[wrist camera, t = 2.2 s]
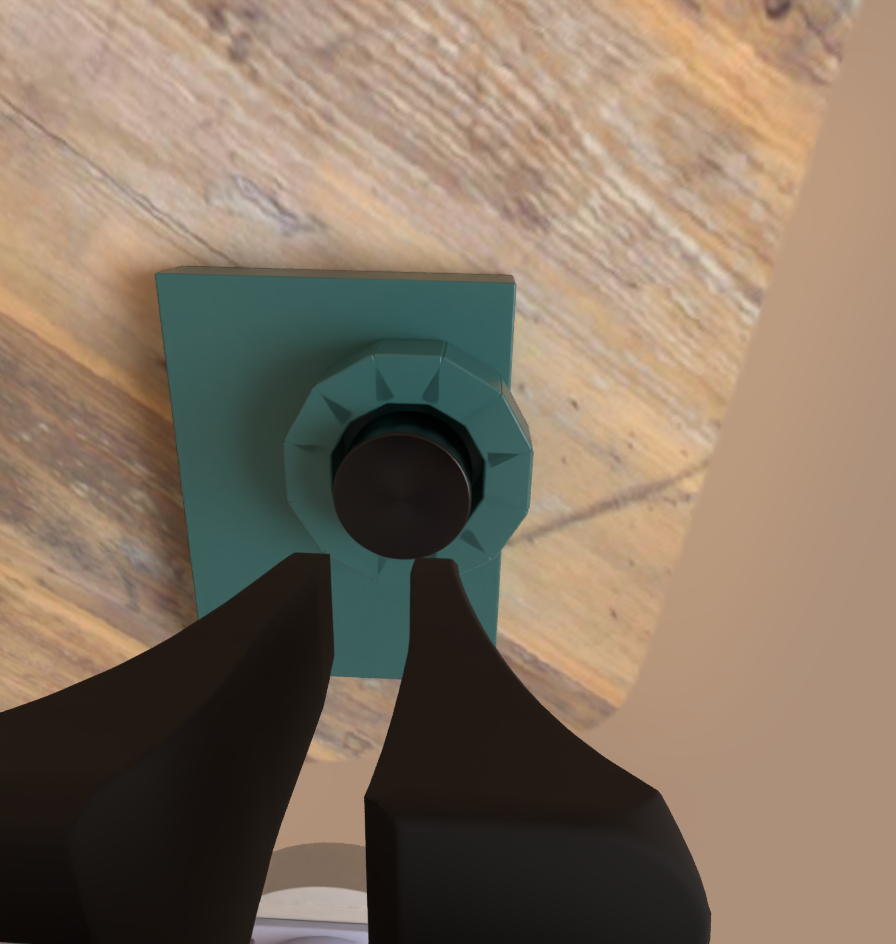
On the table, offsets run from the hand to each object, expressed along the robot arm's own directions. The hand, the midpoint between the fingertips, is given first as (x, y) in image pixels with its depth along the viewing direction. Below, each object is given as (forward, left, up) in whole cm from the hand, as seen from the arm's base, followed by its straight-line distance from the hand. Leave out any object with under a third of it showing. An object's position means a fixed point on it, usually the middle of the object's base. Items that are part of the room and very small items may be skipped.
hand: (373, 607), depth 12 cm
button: (0, 0, -6) cm, 6 cm away
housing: (-2, +2, -9) cm, 10 cm away
